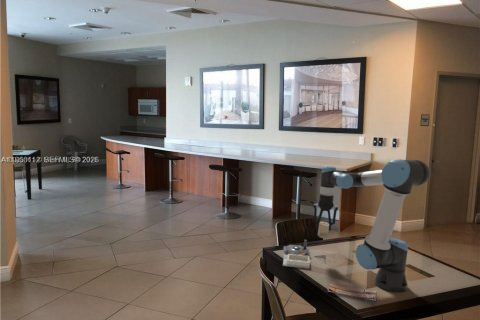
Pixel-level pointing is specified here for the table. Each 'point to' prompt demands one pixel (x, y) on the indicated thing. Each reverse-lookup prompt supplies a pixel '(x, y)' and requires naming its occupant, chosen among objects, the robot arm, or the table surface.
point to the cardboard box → (323, 229)
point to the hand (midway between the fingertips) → (323, 235)
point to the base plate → (296, 261)
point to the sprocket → (297, 249)
